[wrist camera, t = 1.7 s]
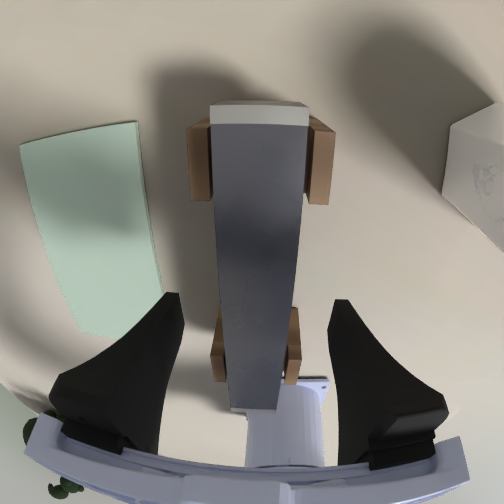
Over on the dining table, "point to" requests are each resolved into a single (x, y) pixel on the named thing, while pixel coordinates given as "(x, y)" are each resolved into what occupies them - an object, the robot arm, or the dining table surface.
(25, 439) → the toy figurine
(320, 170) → the post
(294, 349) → the post
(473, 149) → the jar
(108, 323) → the mat
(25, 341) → the dining table surface
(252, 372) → the rail
